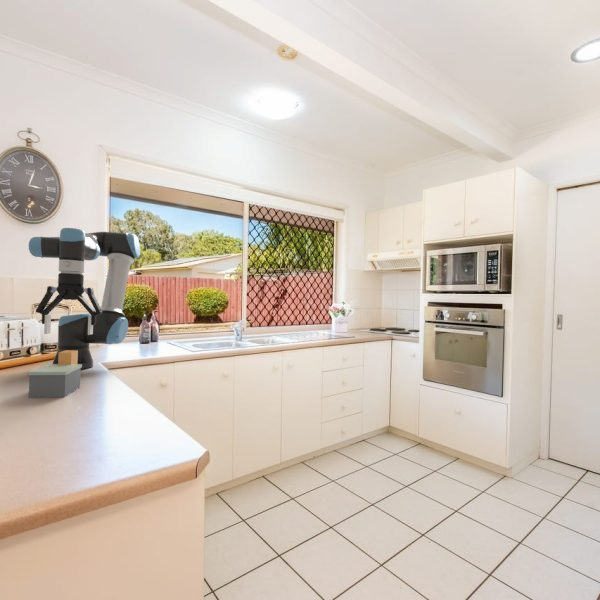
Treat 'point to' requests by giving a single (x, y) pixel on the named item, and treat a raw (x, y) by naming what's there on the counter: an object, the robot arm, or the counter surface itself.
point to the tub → (54, 384)
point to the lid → (60, 365)
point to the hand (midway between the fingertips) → (69, 334)
